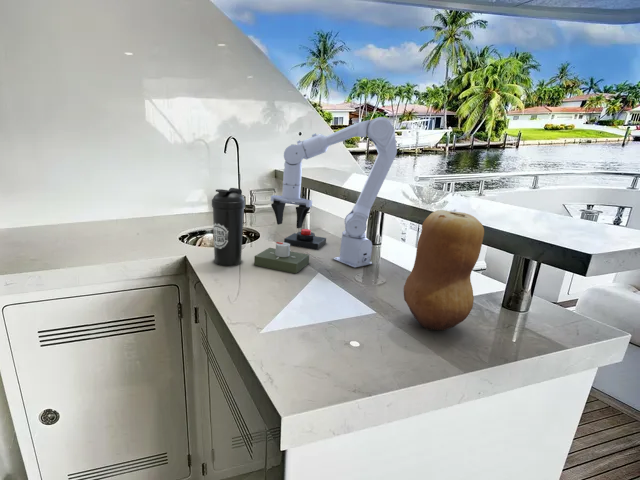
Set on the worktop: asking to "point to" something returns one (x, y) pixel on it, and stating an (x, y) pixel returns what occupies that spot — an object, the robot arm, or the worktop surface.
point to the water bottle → (228, 226)
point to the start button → (306, 232)
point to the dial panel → (282, 261)
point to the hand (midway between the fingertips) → (289, 225)
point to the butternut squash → (444, 269)
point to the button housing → (305, 240)
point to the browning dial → (282, 249)
